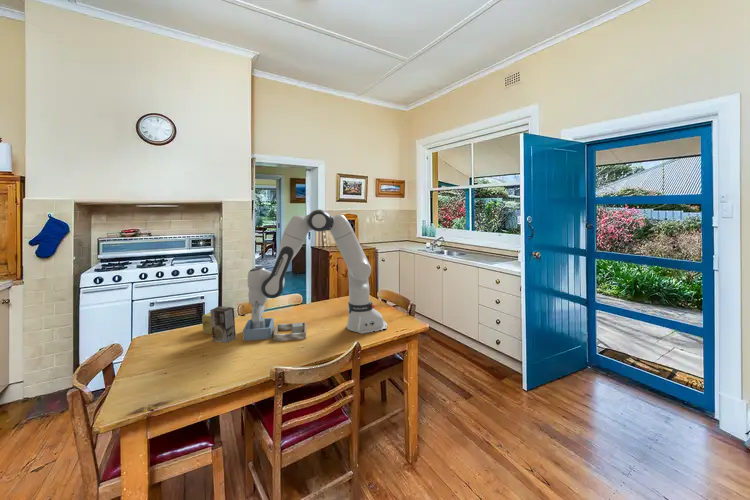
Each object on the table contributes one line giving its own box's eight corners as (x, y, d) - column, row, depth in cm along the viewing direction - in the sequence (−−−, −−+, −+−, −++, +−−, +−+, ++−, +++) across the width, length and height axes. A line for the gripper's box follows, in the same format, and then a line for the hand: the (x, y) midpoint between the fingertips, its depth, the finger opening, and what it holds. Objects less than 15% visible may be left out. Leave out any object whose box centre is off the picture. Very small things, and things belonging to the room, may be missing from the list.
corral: (306, 327, 176) (306, 322, 175) (306, 338, 161) (305, 333, 161) (276, 329, 173) (276, 324, 172) (273, 341, 158) (273, 335, 158)
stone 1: (265, 326, 170) (264, 317, 169) (263, 330, 165) (263, 321, 164) (255, 327, 169) (254, 318, 168) (253, 331, 164) (252, 321, 163)
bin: (274, 327, 176) (273, 317, 175) (270, 338, 161) (270, 328, 160) (249, 329, 173) (248, 319, 172) (243, 340, 159) (242, 330, 158)
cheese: (220, 335, 165) (218, 317, 164) (201, 333, 167) (200, 315, 166) (232, 327, 175) (231, 310, 174) (215, 326, 177) (214, 308, 176)
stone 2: (302, 331, 171) (301, 322, 170) (303, 334, 166) (302, 325, 165) (292, 332, 169) (292, 323, 168) (293, 336, 165) (292, 327, 164)
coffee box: (236, 338, 162) (234, 307, 159) (226, 343, 156) (224, 311, 153) (222, 335, 165) (220, 305, 162) (212, 340, 159) (209, 309, 156)
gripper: (261, 304, 155) (262, 331, 157) (266, 293, 175) (268, 317, 177) (247, 305, 154) (249, 332, 156) (254, 293, 174) (256, 318, 176)
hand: (259, 324), depth 167 cm, fingers open, 5 cm apart
